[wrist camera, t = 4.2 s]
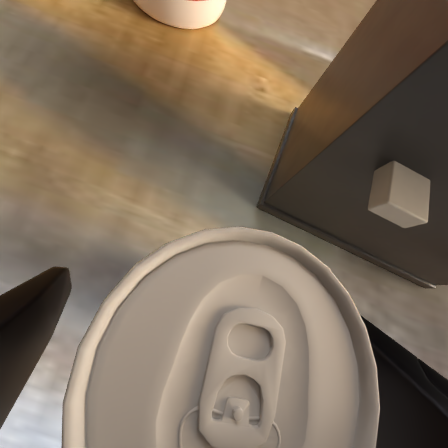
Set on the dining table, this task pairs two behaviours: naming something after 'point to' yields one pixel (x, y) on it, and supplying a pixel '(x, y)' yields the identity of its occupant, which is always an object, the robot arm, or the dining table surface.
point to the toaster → (375, 145)
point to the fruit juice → (183, 12)
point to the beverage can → (224, 352)
